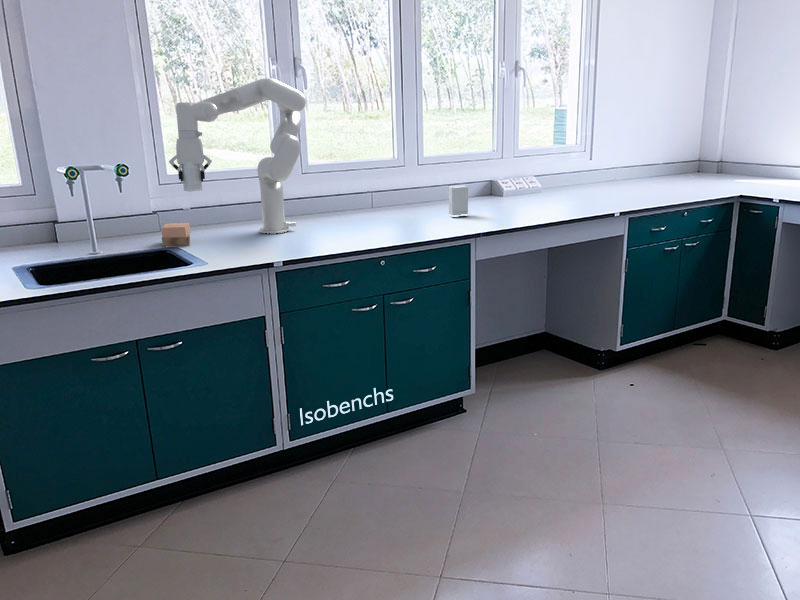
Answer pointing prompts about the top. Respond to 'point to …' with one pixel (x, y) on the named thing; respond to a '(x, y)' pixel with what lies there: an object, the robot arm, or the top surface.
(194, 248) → the top surface
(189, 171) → the skincare box
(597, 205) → the top surface
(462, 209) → the skincare box
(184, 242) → the tower base block
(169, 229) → the tower top block
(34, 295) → the top surface
